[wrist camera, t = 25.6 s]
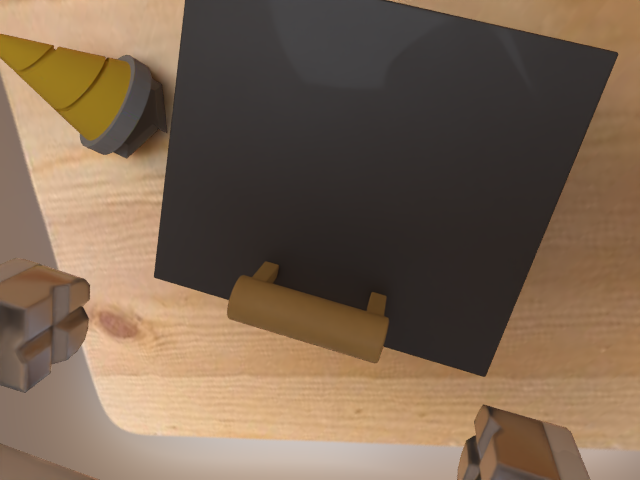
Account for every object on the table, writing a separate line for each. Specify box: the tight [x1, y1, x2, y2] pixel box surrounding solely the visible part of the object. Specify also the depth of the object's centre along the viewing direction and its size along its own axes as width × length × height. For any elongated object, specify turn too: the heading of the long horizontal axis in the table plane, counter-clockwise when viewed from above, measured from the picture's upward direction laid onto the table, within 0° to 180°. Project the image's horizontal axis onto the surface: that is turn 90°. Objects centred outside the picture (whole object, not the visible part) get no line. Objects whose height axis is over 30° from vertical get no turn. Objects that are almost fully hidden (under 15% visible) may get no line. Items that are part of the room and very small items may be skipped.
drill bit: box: [0, 34, 167, 158], centre depth 25 cm, size 5×5×10 cm
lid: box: [154, 0, 618, 377], centre depth 19 cm, size 14×16×5 cm
